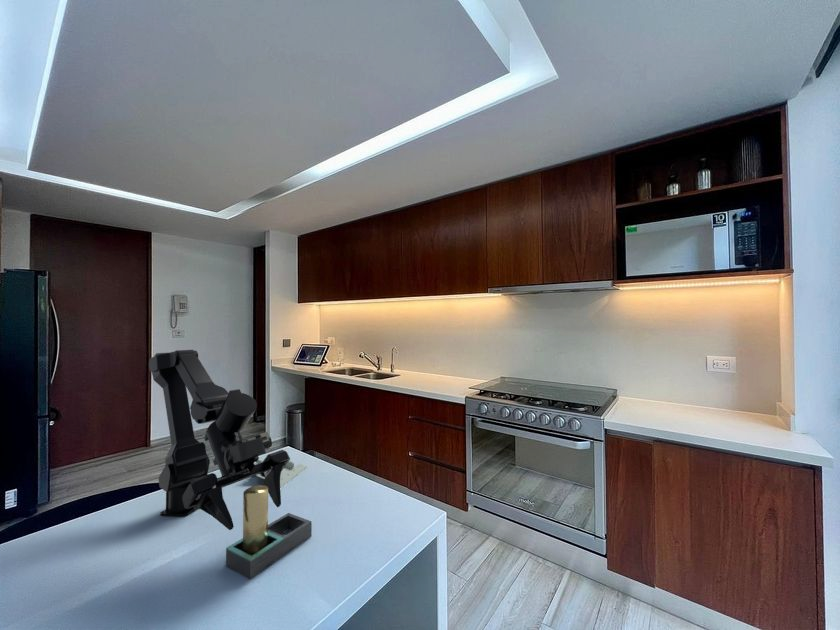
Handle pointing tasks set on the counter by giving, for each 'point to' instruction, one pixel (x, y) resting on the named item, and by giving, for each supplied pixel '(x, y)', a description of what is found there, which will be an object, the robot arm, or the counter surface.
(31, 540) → the counter surface
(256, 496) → the brass post
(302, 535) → the hole rail
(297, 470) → the metal bracket
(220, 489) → the robot arm
